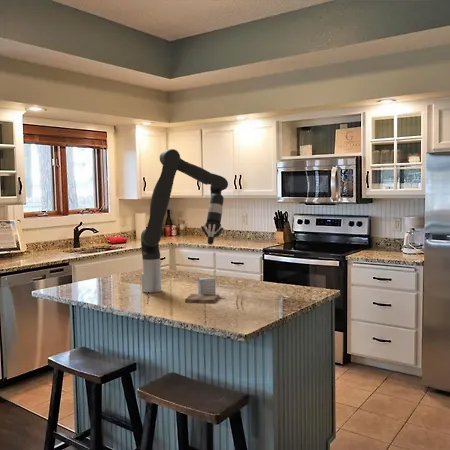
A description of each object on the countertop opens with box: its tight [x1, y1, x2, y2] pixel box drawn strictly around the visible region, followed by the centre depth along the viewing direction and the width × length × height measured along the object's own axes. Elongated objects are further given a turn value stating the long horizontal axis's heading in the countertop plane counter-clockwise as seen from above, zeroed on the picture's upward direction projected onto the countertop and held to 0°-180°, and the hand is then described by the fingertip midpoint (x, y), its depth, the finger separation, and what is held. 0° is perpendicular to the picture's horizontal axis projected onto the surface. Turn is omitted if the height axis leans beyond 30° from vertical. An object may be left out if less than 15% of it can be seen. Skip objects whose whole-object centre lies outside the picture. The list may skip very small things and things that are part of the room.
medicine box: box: [197, 276, 217, 295], centre depth 246 cm, size 8×4×9 cm, turn 109°
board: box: [184, 293, 220, 304], centre depth 237 cm, size 14×11×2 cm
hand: (210, 244), depth 262 cm, fingers closed
